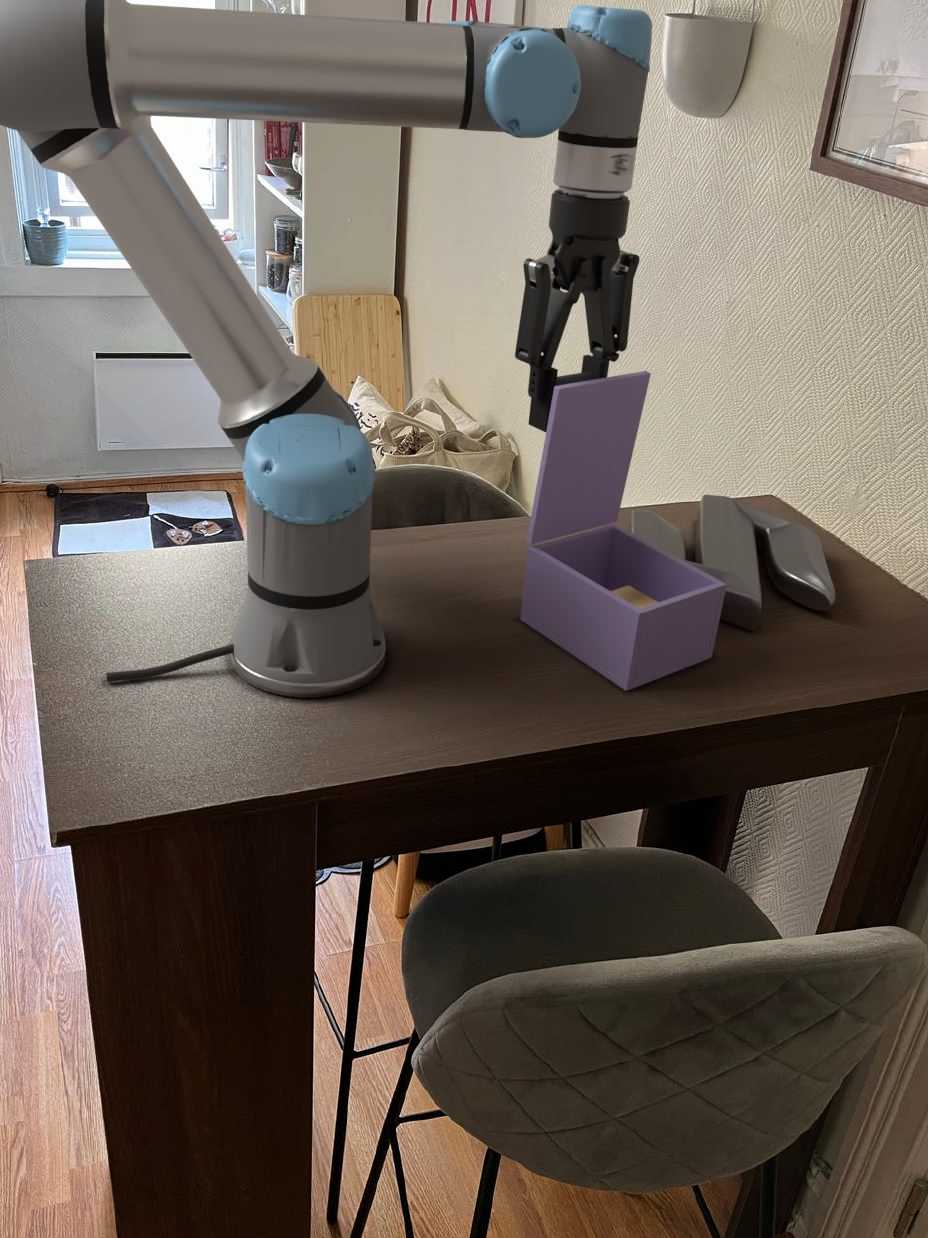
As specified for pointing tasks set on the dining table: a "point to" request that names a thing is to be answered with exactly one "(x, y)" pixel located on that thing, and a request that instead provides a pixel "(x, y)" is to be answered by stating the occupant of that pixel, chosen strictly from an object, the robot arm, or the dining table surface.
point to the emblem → (746, 555)
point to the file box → (621, 605)
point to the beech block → (634, 597)
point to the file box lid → (586, 453)
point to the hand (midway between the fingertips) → (563, 422)
